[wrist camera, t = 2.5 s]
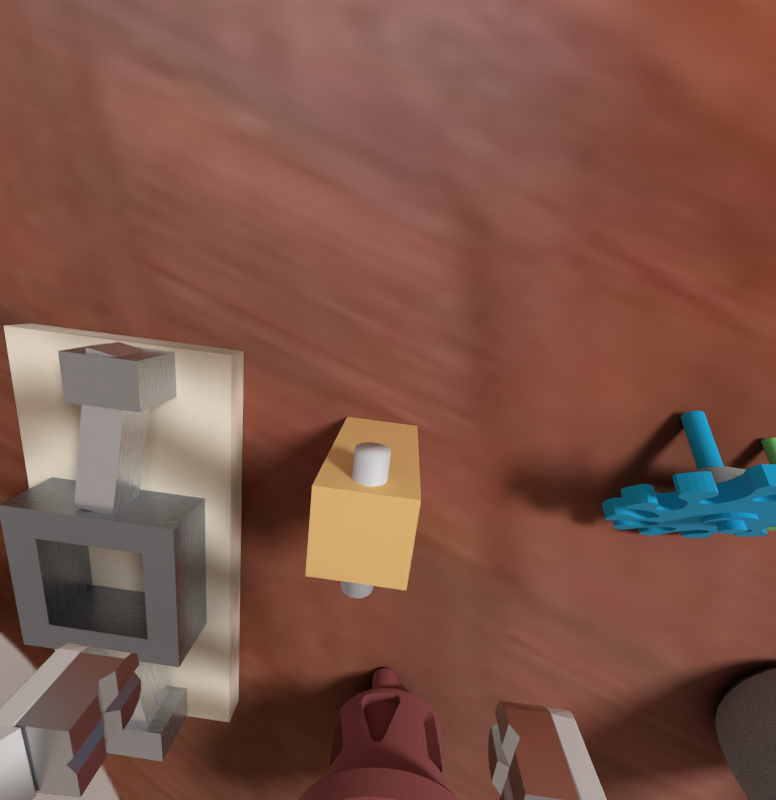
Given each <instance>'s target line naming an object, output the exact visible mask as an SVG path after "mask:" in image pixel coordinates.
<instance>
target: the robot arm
mask: <svg viewBox="0 0 776 800" xmlns="http://www.w3.org/2000/svg"><path fill="white" fill-rule="evenodd" d="M138 666H139V660H138V653H131V652H125V651H118V650H112V649H105V648H99V647H93V646H87V645H79V644H72V643H67V644H65V645H64V646H62V647H60V648H59V649H57V650H56V651H55V652H54V653H53V654H52V655H51V656H50V657H49V658H48V660H47V661H46V662H45V663H44V664H43V665H42V666H41V667H40V668H39V669H38V670H37V671H36V672H35V673H34V674H33V675H32V676H31V677H30V678H29V679H28V680H27V681H26V682H25V683H24V684H23V685H22V686H21V687H20V688H19V690H17V691H16V693H15V694H14V695H13V696H12V697H11V698H10V699H9V700H8V701H7V702H6V703H5V704H4V705H3V706H2V707H1V708H0V800H32V799H33V798H34V797H35V796H36V793H45V794H55V795H66V796H75V797H81V796H82V794H83V793H84V791H85V789H86V788H87V786H88V785H89V783H90V782H91V780H92V778H93V777H94V775H95V774H96V772H97V771H98V769H99V768H100V766H101V765H102V763H103V761H104V760H105V758H106V757H107V744H108V742H109V741H111V740H112V739H113V738H115V737H116V736H117V735H119V734H120V733H121V732H123V730H124V729H125V727H126V725H127V724H128V722H129V721H130V719H131V717H132V716H133V713H134V711H135V708H136V706H137V704H138V701H139V698H140V693H141V679H140V678H139V677H138V676H137V675H136V673H135V672H134V671H135V670H136V668H137V667H138ZM495 714H496V719H497V723H496V724H494V725H493V726H491V730H490V734H489V742H488V757H489V767H490V774H491V780H492V783H493V784H494V786H495V787H496V789H497V790H498V792H499V793H500V795H501V797H500V800H607V799H606V796H605V794H604V791H603V789H602V786H601V784H600V781H599V779H598V776H597V774H596V771H595V769H594V766H593V764H592V761H591V759H590V756H589V754H588V751H587V749H586V746H585V744H584V741H583V738H582V736H581V733H580V731H579V728H578V726H577V723H576V721H575V718H574V716H573V715H572V714H571V712H570V711H569V710H566V709H556V708H547V707H544V706H539V705H530V704H521V703H512V702H504V701H500V702H499V703H498V704H497V708H496V711H495Z"/></svg>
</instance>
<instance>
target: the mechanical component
mask: <svg viewBox="0 0 776 800" xmlns="http://www.w3.org/2000/svg"><path fill="white" fill-rule="evenodd" d="M299 800H459V799H458V798H457V797H456V796H455V795H454V794H453V793H452V792H451V791H450V790H449V789H447V788H446V787H445V784H444V769H443V755H442V740H441V726H440V722H439V718H438V717H437V715H436V713H435V711H434V710H433V709H432V708H431V706H430V705H428V704H427V703H426V702H425V701H424V700H422V699H421V698H419V697H417V696H415V695H413V694H411V693H409V692H407V691H404V690H403V689H402V687H401V685H400V684H399V681H398V679H397V676H396V674H395V673H394V672H393V671H392V670H390V669H388V668H381V669H379V670H377V671H375V672H374V674H373V682H372V689H370V690H366V691H364V692H361V693H359V694H357V695H355V696H354V697H352V698H351V699H349V700H348V701H347V702H346V703H345V704H344V705H343V707H342V708H341V710H340V712H339V715H338V719H337V724H336V730H335V736H334V742H333V747H332V754H331V761H330V767H329V771H328V775H326V776H325V777H323V778H322V779H320V780H319V781H317V782H316V783H315V784H313V785H312V786H311V787H310V788H308V789H307V790H306V791H305V792H304V793H303V795H302V796H301V797H300V799H299Z"/></svg>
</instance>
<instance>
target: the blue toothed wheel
mask: <svg viewBox="0 0 776 800" xmlns="http://www.w3.org/2000/svg"><path fill="white" fill-rule="evenodd" d="M681 420H682V423H683V426H684V429H685V432H686V435H687V438H688V441H689V444H690V448H691V451H692V454H693V457H694V460H695V463H696V466H697V469H698V470H695V471H693V472H689V473H680V474H675V475H673V476H672V478H673V482H674V485H675V488H676V491H674V492H669V493H655V489H654V486H653V485H650V484H639V485H634V486H629V487H626V488H622V489H621V494H622V498H610V499H608V500H606V501H604V502H603V503H602V506H603V511H604V516H605V519H606V520H613V524H614V527H615V528H616V529H634V528H638V530H639V533H641V534H645V535H650V536H654V535H663V534H666V533H671V532H678V531H680V533H681V537H691V538H706V537H710V536H711V535H712V534H714V533H717V532H719V533H723V534H734V535H735V536H765V535H767V534H768V533H767V531H766V530H776V438H768V439H764V440H762V441H761V444H762V446H763V448H764V451H765V453H766V455H767V458H768V460H769V462H770V464H760V465H755V466H752V467H750V468H748V469H740V468H734V467H727V466H724V465H723V463H722V460H721V457H720V454H719V452H718V449H717V446H716V444H715V441H714V438H713V435H712V433H711V430H710V427H709V425H708V422H707V419H706V416H705V414H704V412H702V411H692V412H688V413H685V414H683V415H682V416H681Z"/></svg>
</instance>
